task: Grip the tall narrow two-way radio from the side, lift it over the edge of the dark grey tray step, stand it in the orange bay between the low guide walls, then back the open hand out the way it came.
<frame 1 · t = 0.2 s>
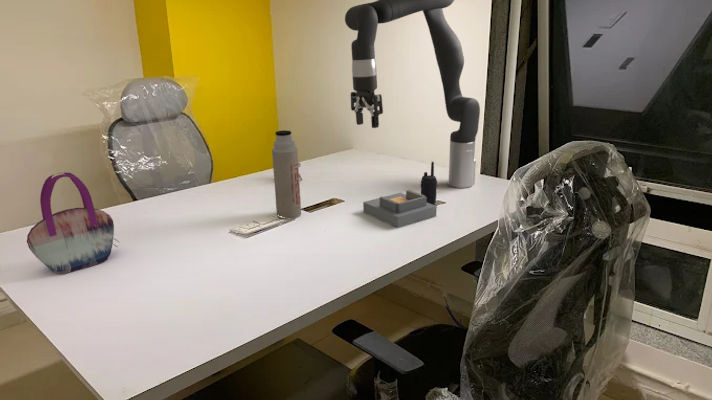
hand: (367, 125, 164), 28 cm above the table, tool pointing down, fingers open, 8 cm apart
handbag: (80, 263, 138), on the table
tray: (399, 214, 168), on the table
thermos bottle: (289, 215, 169), on the table
portable electronic device stand: (291, 180, 207), on the table
two-way radio: (428, 204, 177), on the table
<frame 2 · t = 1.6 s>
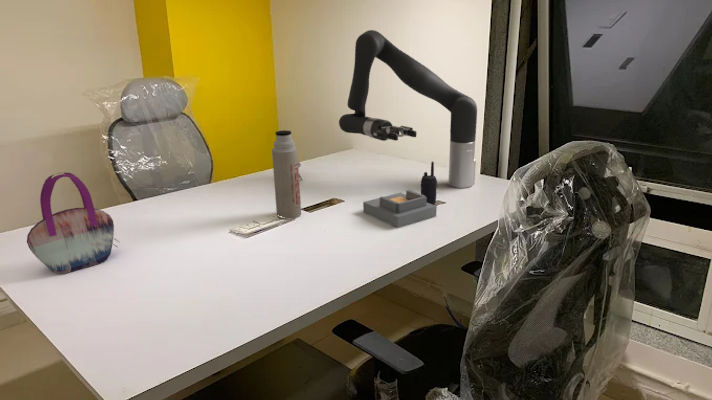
hand: (406, 135, 178), 22 cm above the table, tool horizontal, fingers open, 8 cm apart
nothing on the table moved.
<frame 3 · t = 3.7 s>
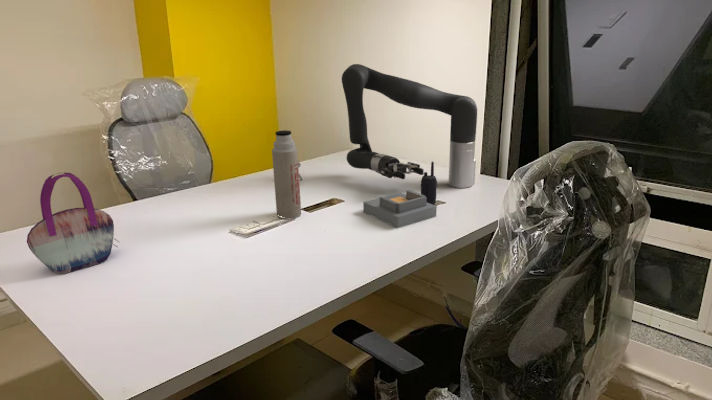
hand: (413, 174, 180), 9 cm above the table, tool horizontal, fingers open, 8 cm apart
nothing on the table moved.
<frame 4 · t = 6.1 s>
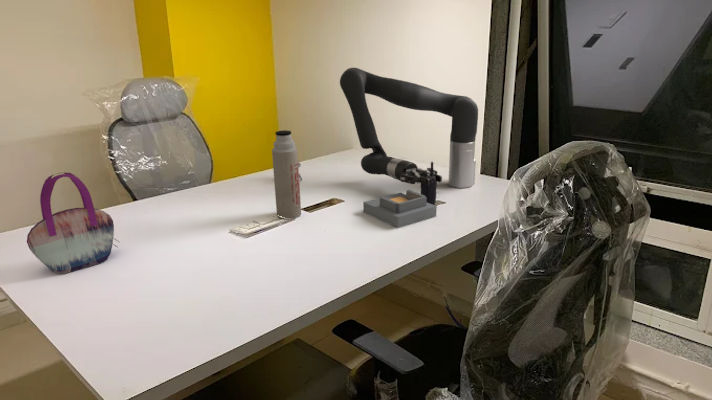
hand: (434, 180, 172), 9 cm above the table, tool horizontal, fingers closed on two-way radio, 5 cm apart
two-way radio: (428, 204, 176), on the table, touching gripper
everything else where it was.
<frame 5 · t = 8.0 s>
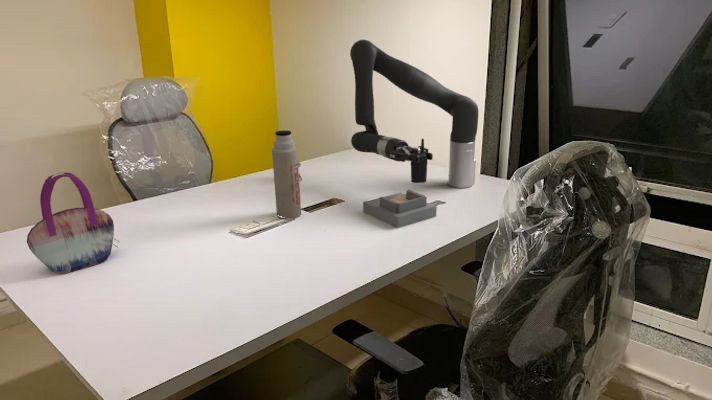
hand: (425, 158, 166), 18 cm above the table, tool horizontal, fingers closed on two-way radio, 5 cm apart
two-way radio: (419, 183, 171), point 8 cm above the table, touching gripper
everything else where it was.
when the fingers open (14 cm above the table, at t = 9.9 s): two-way radio drops 1 cm, resting on tray.
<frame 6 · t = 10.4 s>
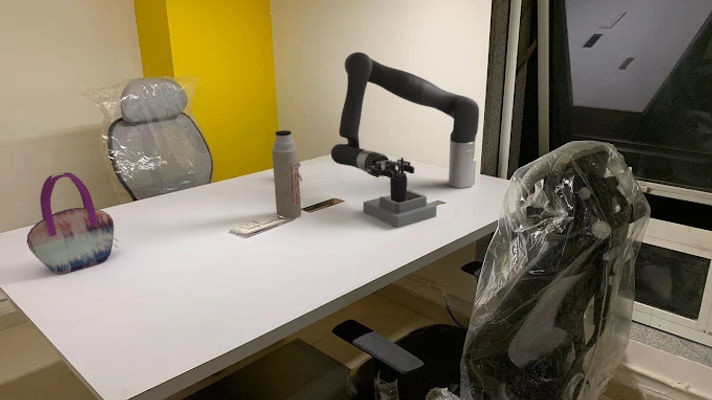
hand: (403, 172, 162), 15 cm above the table, tool horizontal, fingers open, 8 cm apart
two-way radio: (398, 203, 167), point 4 cm above the table, touching tray
everything else where it was.
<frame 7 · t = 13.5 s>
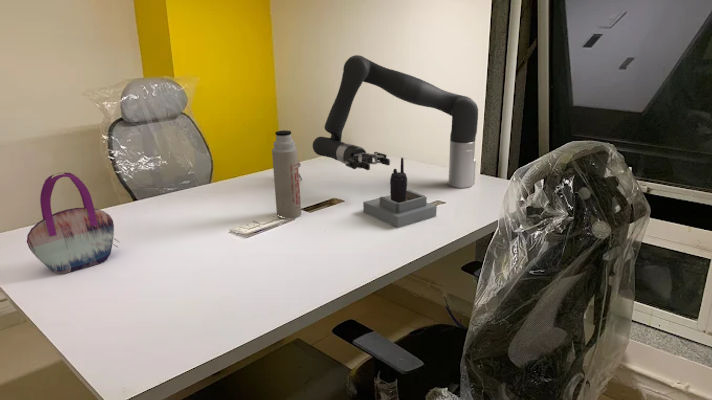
hand: (379, 164, 172), 14 cm above the table, tool horizontal, fingers open, 8 cm apart
nothing on the table moved.
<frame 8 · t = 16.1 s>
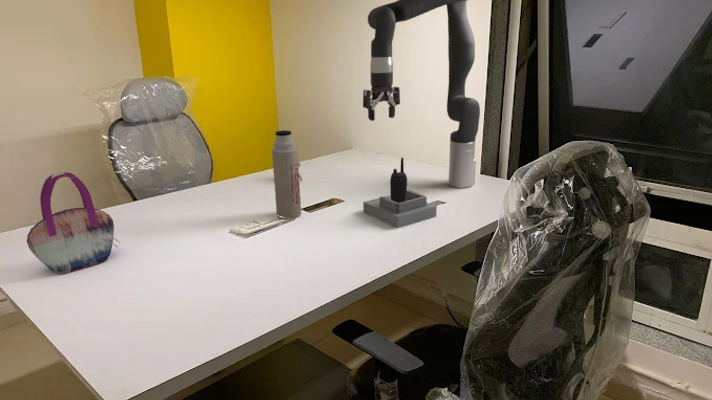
hand: (381, 119, 177), 28 cm above the table, tool pointing down, fingers open, 8 cm apart
nothing on the table moved.
at the end: two-way radio inside the target area on the tray (0.2 cm from its centre), point 3.6 cm above the tray's base; two-way radio tilted 0°; the gripper is holding nothing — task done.
